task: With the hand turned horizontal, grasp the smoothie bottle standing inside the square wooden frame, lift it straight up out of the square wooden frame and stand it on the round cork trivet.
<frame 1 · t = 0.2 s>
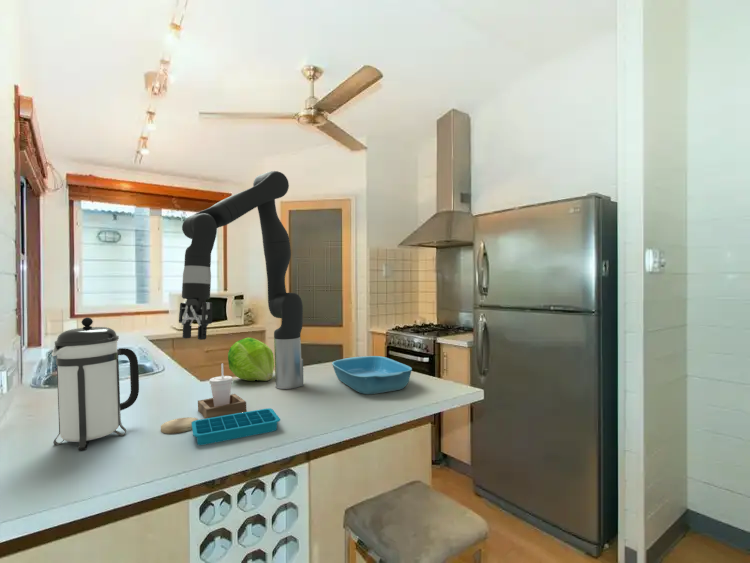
hand: (194, 338, 117), 22 cm above the countertop, fingers open, 8 cm apart
trivet: (180, 427, 107), on the countertop
casserole dish: (370, 384, 146), on the countertop
smoothie: (222, 412, 119), resting in square wooden frame
coffee press: (95, 438, 101), on the countertop
square wooden frame: (222, 411, 119), on the countertop
ice cube tray: (236, 433, 103), on the countertop
lettuce: (252, 380, 157), on the countertop
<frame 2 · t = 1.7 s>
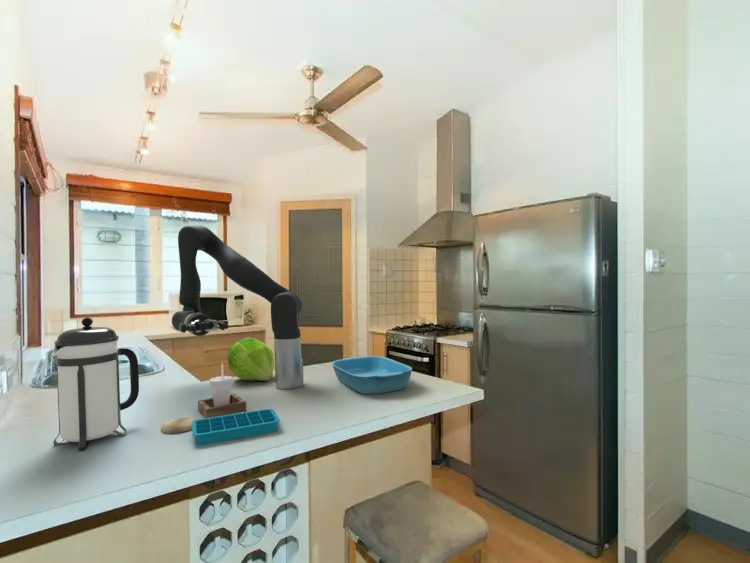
hand: (209, 327, 128), 23 cm above the countertop, fingers open, 8 cm apart
nothing on the countertop moved.
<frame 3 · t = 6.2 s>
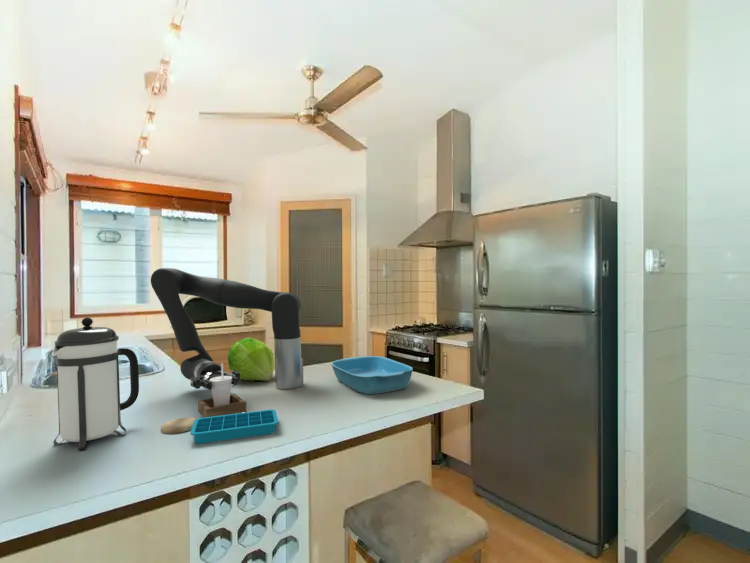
hand: (223, 383, 117), 9 cm above the countertop, fingers closed on smoothie, 6 cm apart
smoothie: (222, 412, 119), resting in square wooden frame, touching gripper
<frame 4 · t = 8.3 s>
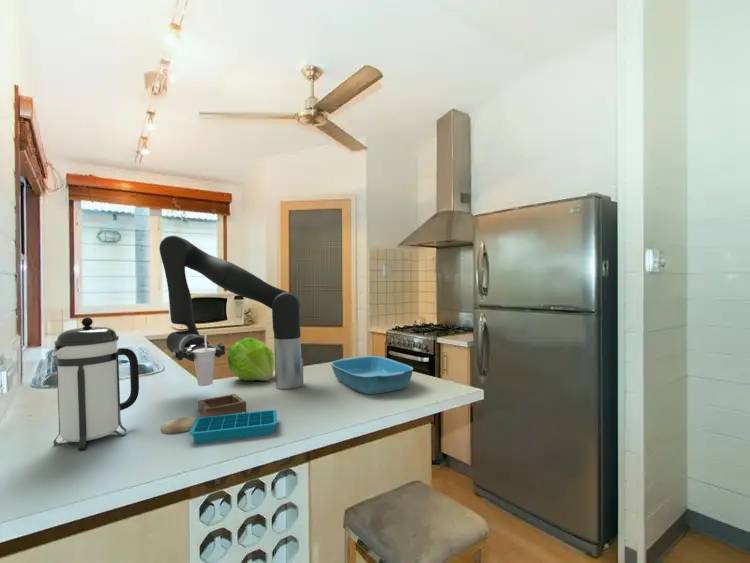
hand: (206, 355, 113), 18 cm above the countertop, fingers closed on smoothie, 6 cm apart
smoothie: (205, 384, 115), point 9 cm above the countertop, touching gripper
when the fingers open (11 cm above the countertop, at t = 10.8 s): smoothie drops 1 cm, resting on trivet.
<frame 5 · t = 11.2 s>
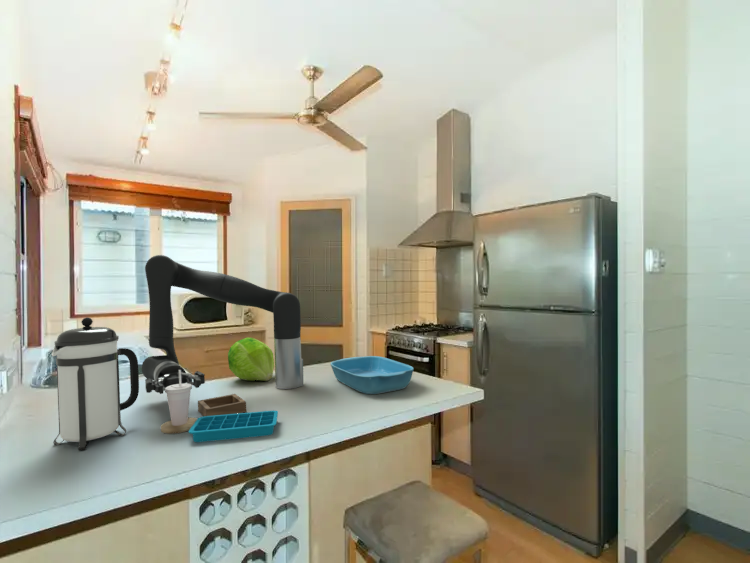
hand: (180, 386, 105), 11 cm above the countertop, fingers open, 8 cm apart
smoothie: (179, 423, 107), point 1 cm above the countertop, touching trivet
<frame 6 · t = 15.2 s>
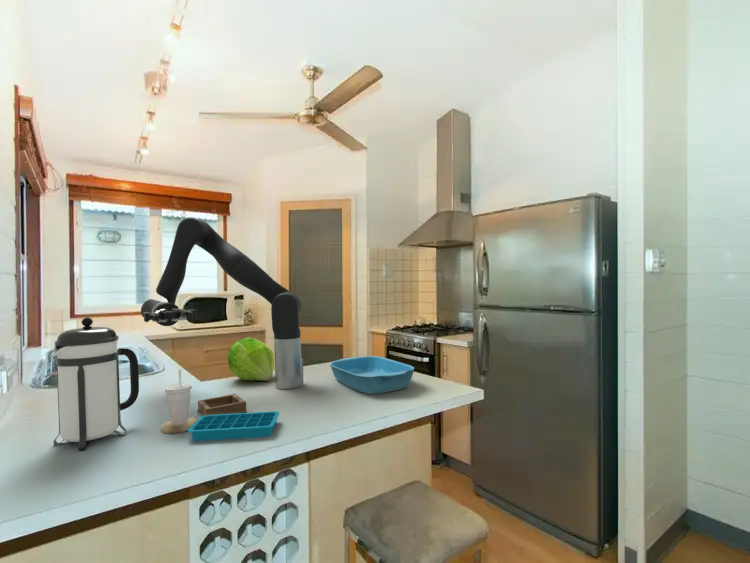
hand: (174, 316, 119), 28 cm above the countertop, fingers open, 8 cm apart
at the end: smoothie 0.2 cm from the trivet (horizontally); smoothie tilted 0°; the gripper is holding nothing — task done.
